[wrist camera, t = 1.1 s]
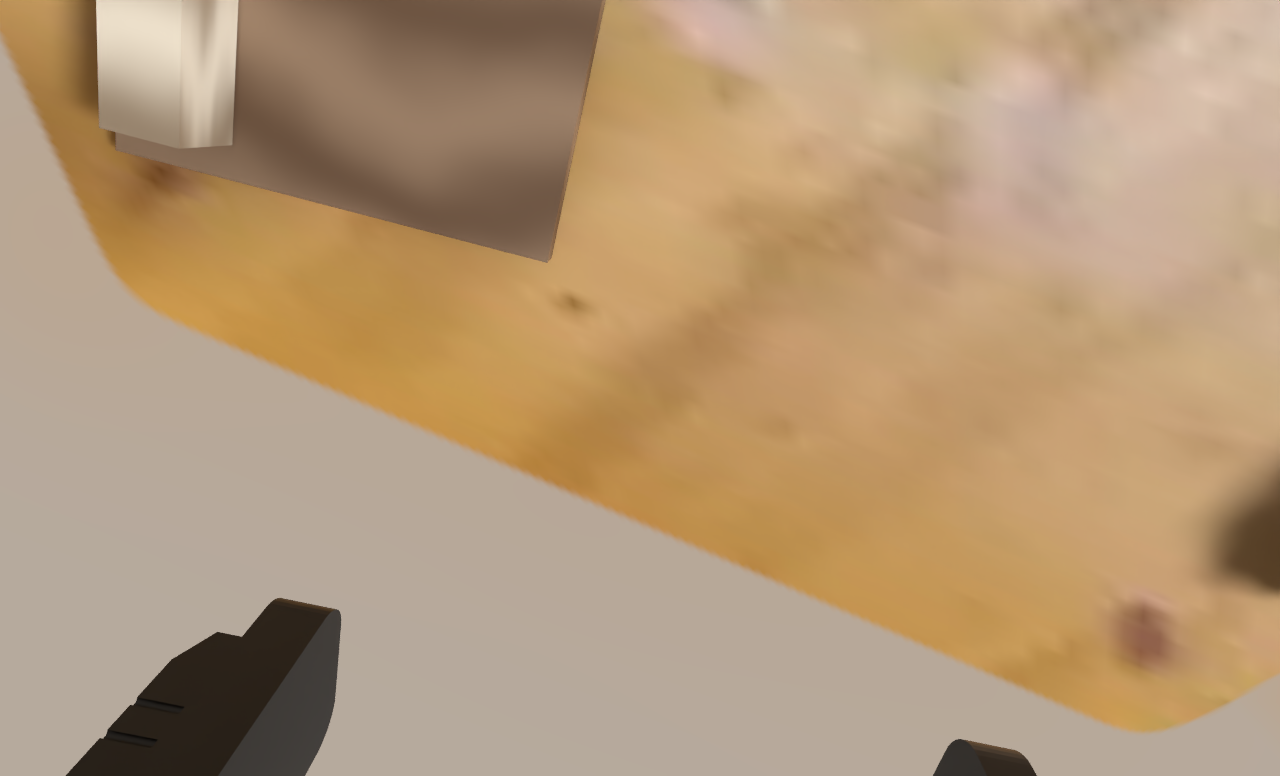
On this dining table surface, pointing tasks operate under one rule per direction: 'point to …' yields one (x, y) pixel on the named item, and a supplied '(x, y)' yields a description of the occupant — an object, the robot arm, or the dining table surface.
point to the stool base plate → (410, 111)
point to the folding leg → (168, 70)
